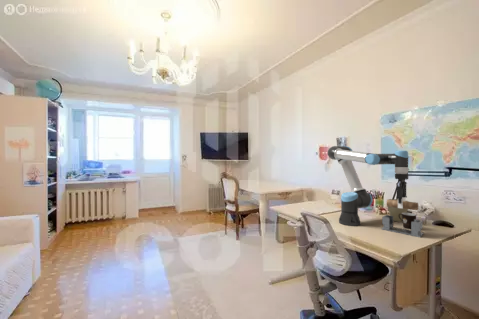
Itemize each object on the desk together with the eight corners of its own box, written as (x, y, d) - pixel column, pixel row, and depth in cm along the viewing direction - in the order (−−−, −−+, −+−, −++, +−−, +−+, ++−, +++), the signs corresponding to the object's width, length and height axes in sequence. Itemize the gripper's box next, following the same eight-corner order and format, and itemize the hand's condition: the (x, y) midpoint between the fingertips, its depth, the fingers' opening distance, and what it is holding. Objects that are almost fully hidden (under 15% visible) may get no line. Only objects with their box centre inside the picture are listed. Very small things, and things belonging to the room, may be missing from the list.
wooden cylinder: (386, 207, 163) (386, 200, 163) (389, 205, 166) (388, 198, 166) (416, 211, 150) (416, 203, 150) (418, 209, 153) (418, 201, 153)
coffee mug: (419, 230, 162) (419, 215, 162) (405, 229, 164) (405, 215, 164) (410, 225, 174) (410, 211, 173) (397, 224, 175) (397, 211, 175)
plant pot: (403, 224, 176) (403, 203, 176) (382, 219, 189) (382, 200, 189) (413, 221, 183) (413, 201, 183) (393, 217, 196) (393, 198, 196)
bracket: (381, 229, 164) (381, 216, 164) (385, 227, 170) (385, 214, 170) (420, 237, 148) (420, 223, 148) (423, 234, 153) (423, 220, 153)
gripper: (404, 174, 149) (404, 210, 150) (412, 172, 161) (412, 206, 161) (390, 173, 155) (390, 208, 155) (399, 172, 167) (399, 204, 167)
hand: (401, 207), depth 158 cm, fingers closed on wooden cylinder, 5 cm apart
